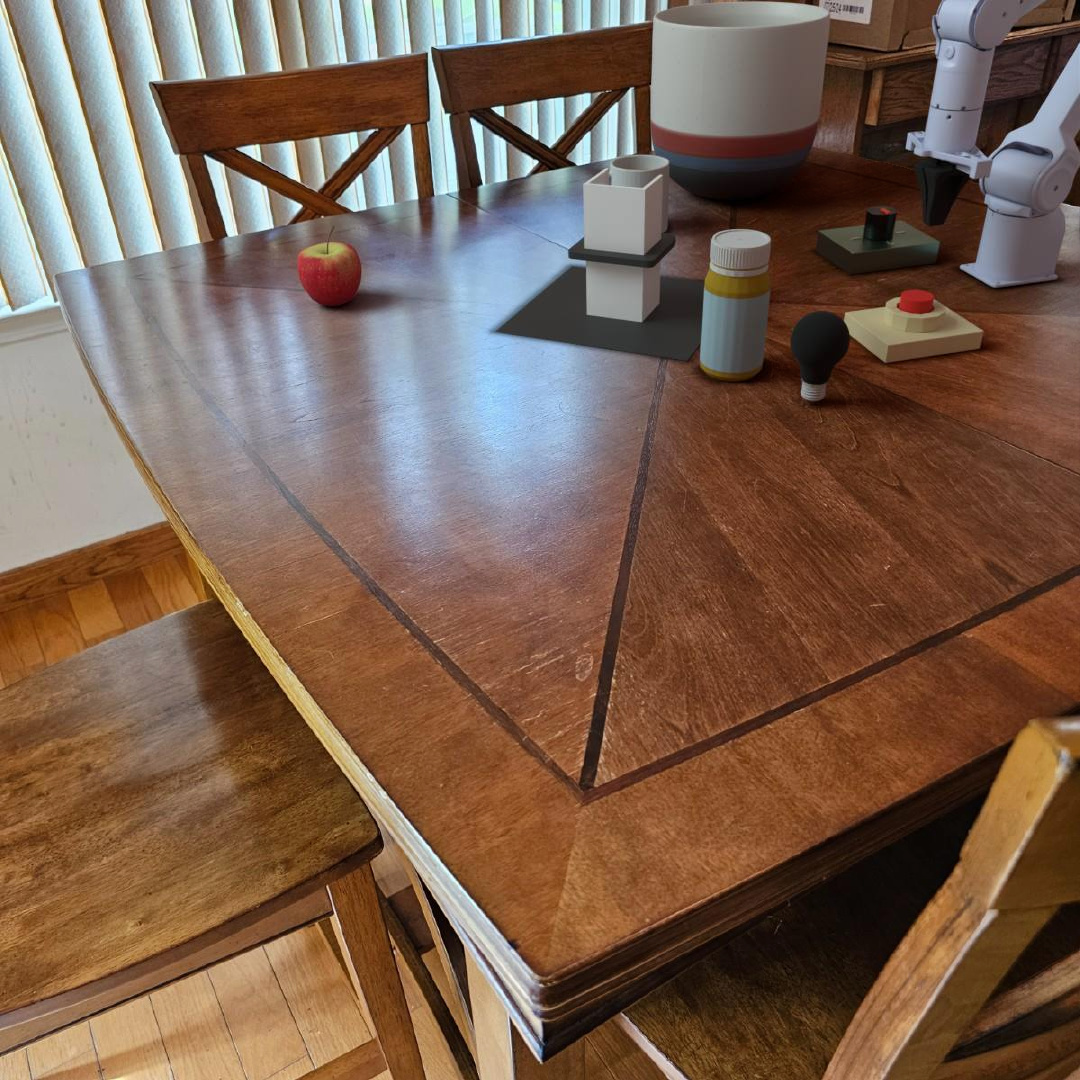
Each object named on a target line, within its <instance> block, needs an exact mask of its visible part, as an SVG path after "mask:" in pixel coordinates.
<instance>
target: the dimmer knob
mask: <svg viewBox="0 0 1080 1080" xmlns="http://www.w3.org/2000/svg"><path fill="white" fill-rule="evenodd" d="M897 215H898V210H897V209H896V208H894V207H891V206H886V205H875V206H870V207H868V208H866V213H865V217H864V218H865V219H864V224H863V225H864V232H863V236H864V237H865V238H868V239H872V240H888V239H891V238H892V237H893V234H894V228H895V222H896V221H897Z"/></svg>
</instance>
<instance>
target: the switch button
mask: <svg viewBox="0 0 1080 1080" xmlns="http://www.w3.org/2000/svg"><path fill="white" fill-rule="evenodd" d="M934 295H935V294H933V293H932V292H930V291H928V290H927V291H926V290H922V289H907V290H904V291H902V292H901V293H900V297H901V298H900V304H899V309H900V310H901V311H904V312H908V313H911V314H925V313H930V312H931V310H932V305H933V300H935V296H934Z"/></svg>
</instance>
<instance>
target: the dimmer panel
mask: <svg viewBox="0 0 1080 1080" xmlns="http://www.w3.org/2000/svg"><path fill="white" fill-rule="evenodd" d="M864 225H865V224H861V225H853V226H846V227H836V228H830V229H829V228H828V229H821V230H818V231H817V239H816V247H815V252H816V253H817V254H819V255H821V257H823V258H825V259H826V260H827V261H829V262H830V263H832V264H834V265H835V266H836V267H838V268H839V269H841V270H842V271H843V272H845V273H846V274H848V275H849V276H850V275H859V274H865V273H866V274H867V273H873V272H881V271H888V270H896V269H903V268H910V267H917V266H924V265H931V264H932V265H933V264H937V259H938V254H939V248H940V244H941V241H939V240H938V239H935V237H934V238H933V237H932V236H931V235H929V234H927V233H925V232H923V231H922V230H920V229H918V228H915V227H914V226H913V225H910V224H908V223H907V222H905V221H903V220H901V219H899V220H896V222H895V228H894V234H893V237H892V238H891V239H888V240H872V239H868V238H865V237H864V236H863V232H864Z"/></svg>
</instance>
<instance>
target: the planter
mask: <svg viewBox="0 0 1080 1080" xmlns="http://www.w3.org/2000/svg"><path fill="white" fill-rule="evenodd" d="M652 22H653V24H652V42H651V43H652V45H651V46H652V49H651V52H652V53H651V82H650V83H651V85H650V122H649V123H650V136H651V137H650V138H651V142H652V147H653V151H654V156H659V157H663V158H666V159H667V160H668V161H669V163H670V166H669V179H671V180H672V181H673V182H674V183H675V184H677V185H678V186H679V187H681V188H682V189H683V190H686V191H688V192H689V193H691V194H694V195H696V196H699V197H703V198H708V199H713V200H722V201H737V200H746V199H752V198H756V197H760V196H762V195H766V194H768V193H770V192H772V191H774V190H776V189H777V188H780V187H781V186H782V185H784V184H785V183H787V182H788V181H789V180H790V179H792V177H794V175H796V174H797V173H798V172H799V171H800V169H801V168H802V167H803V165H805V163H806V161H807V159H808V157H809V155H810V154H811V151H812V148H813V146H814V144H815V143H814V142H815V139H816V136H817V132H818V126H819V120H820V112H821V105H822V97H823V88H824V80H825V71H826V69H825V68H826V62H827V61H826V59H827V51H828V43H829V37H830V36H829V35H830V25H831V24H830V23H831V12H830V11H829V10H828V9H826V8H824V7H821V6H817V5H812V4H807V3H797V2H785V1H722V2H720V1H719V2H706V3H697V4H688V5H680V6H675V7H670V8H667V9H663V10H660V11H658V12H657V13H655V14H654V15H653V21H652Z"/></svg>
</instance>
